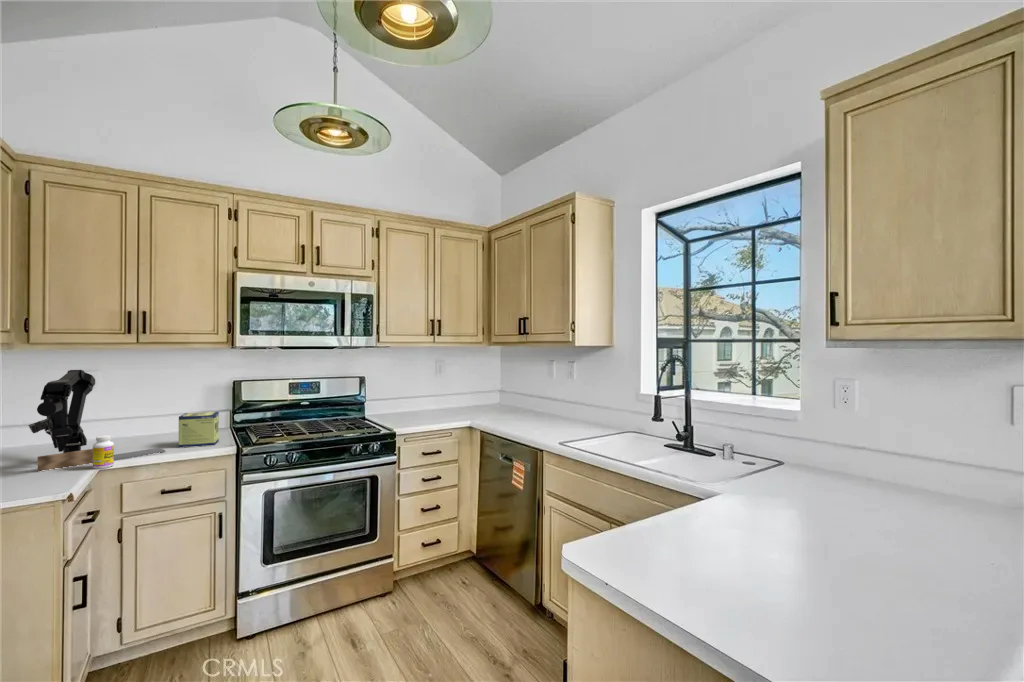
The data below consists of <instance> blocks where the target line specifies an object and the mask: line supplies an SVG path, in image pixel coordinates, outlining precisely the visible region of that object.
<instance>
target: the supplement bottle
mask: <svg viewBox="0 0 1024 682" xmlns="http://www.w3.org/2000/svg"><path fill="white" fill-rule="evenodd" d="M111 439H112V435H109V434H108V435H99V436H96V437H95V441H96V442H95V443H93V444H92V449H93V463H92V468H93V469H96V470H100V469H101V470H102V469H103V470H104V469H108V468H111V467H114V464H115V461H114V455H115V453H114V452H115V443H114V442H113V441H111Z"/></svg>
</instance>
